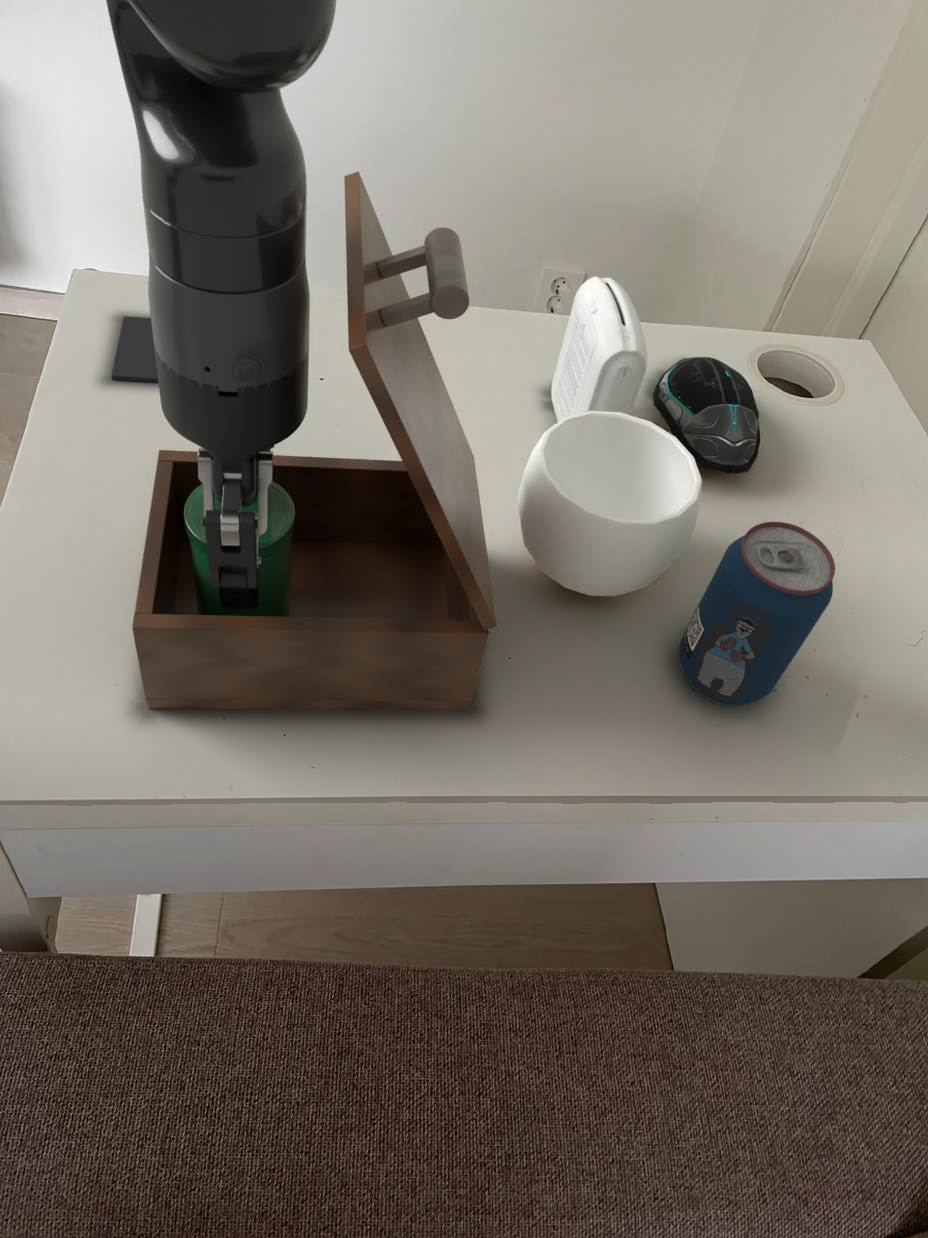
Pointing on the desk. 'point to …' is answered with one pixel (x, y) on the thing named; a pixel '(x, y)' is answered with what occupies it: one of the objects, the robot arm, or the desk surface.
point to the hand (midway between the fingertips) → (242, 560)
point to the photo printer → (600, 353)
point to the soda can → (756, 613)
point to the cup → (608, 502)
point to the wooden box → (313, 602)
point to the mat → (135, 351)
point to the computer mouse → (710, 413)
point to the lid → (417, 379)
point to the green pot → (271, 551)
